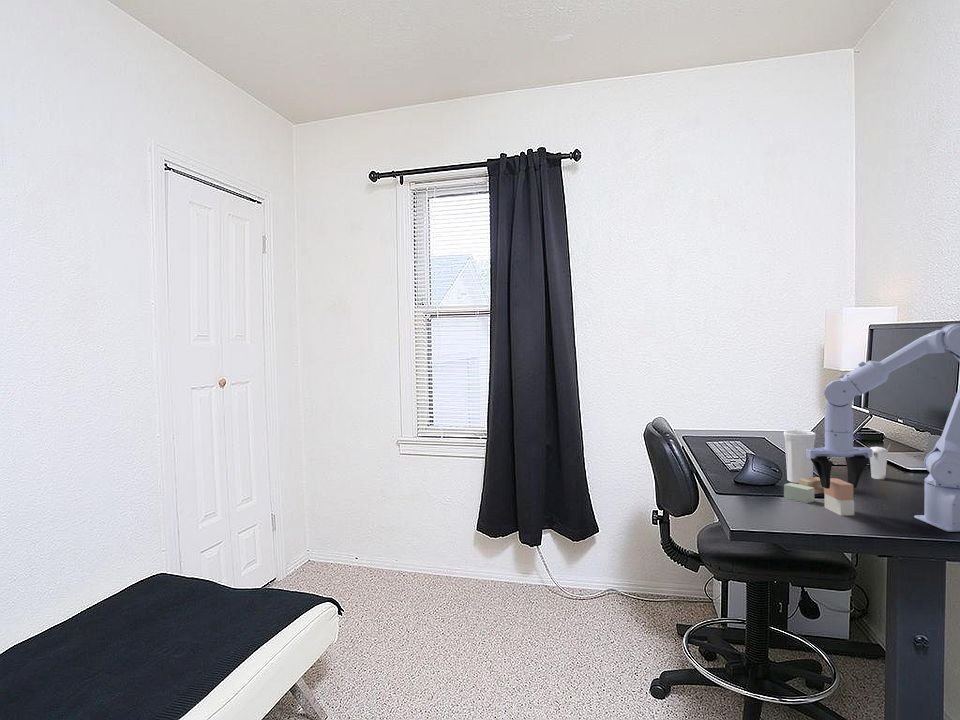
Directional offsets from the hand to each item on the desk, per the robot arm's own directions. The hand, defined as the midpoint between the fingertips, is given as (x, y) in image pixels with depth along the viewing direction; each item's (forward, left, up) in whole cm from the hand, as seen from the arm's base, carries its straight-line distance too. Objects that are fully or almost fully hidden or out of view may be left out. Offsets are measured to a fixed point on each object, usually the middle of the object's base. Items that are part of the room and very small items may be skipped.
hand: (839, 487), depth 133 cm
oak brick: (+16, -3, -6) cm, 17 cm away
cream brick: (0, 0, -6) cm, 6 cm away
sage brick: (+10, +4, -6) cm, 12 cm away
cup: (+26, -5, -6) cm, 27 cm away
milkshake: (+28, -29, -6) cm, 41 cm away
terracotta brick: (0, 0, -2) cm, 2 cm away
